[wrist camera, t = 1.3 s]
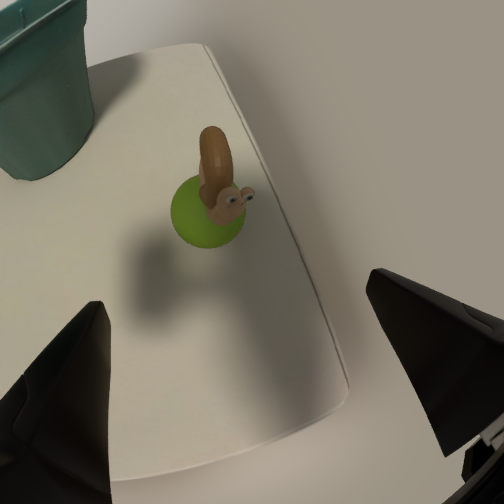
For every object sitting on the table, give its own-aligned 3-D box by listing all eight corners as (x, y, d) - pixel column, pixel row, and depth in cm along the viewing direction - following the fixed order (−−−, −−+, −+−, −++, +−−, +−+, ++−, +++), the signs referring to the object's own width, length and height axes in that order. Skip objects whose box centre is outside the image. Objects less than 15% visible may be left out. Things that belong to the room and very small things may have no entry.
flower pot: (127, 77, 25) (118, -37, 10) (99, 193, 21) (27, 41, 6) (22, 101, 21) (-14, 16, 6) (-20, 210, 17) (-103, 132, 2)
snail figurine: (182, 275, 20) (167, 211, 9) (168, 200, 22) (155, 92, 11) (249, 261, 22) (307, 189, 11) (230, 190, 23) (263, 84, 12)
